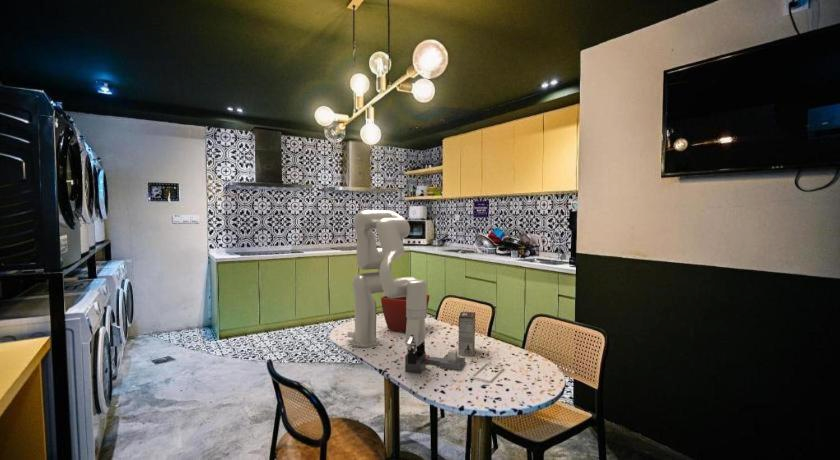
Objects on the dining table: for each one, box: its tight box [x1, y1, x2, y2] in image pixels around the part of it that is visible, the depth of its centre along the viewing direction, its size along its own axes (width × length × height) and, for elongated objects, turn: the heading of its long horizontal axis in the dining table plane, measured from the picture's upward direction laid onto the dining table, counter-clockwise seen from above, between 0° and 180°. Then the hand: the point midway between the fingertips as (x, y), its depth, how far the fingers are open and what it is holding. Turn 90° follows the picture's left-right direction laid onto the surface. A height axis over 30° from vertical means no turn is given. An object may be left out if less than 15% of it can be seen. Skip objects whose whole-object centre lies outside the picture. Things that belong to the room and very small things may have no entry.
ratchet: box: [426, 349, 466, 371], centre depth 153 cm, size 22×8×6 cm, turn 72°
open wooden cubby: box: [404, 350, 427, 375], centre depth 146 cm, size 6×6×6 cm
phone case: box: [470, 362, 504, 384], centre depth 144 cm, size 7×1×15 cm
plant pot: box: [380, 294, 431, 334], centre depth 198 cm, size 19×19×17 cm
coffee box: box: [457, 311, 476, 356], centre depth 166 cm, size 9×6×16 cm
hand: (416, 359), depth 145 cm, fingers open, 9 cm apart
